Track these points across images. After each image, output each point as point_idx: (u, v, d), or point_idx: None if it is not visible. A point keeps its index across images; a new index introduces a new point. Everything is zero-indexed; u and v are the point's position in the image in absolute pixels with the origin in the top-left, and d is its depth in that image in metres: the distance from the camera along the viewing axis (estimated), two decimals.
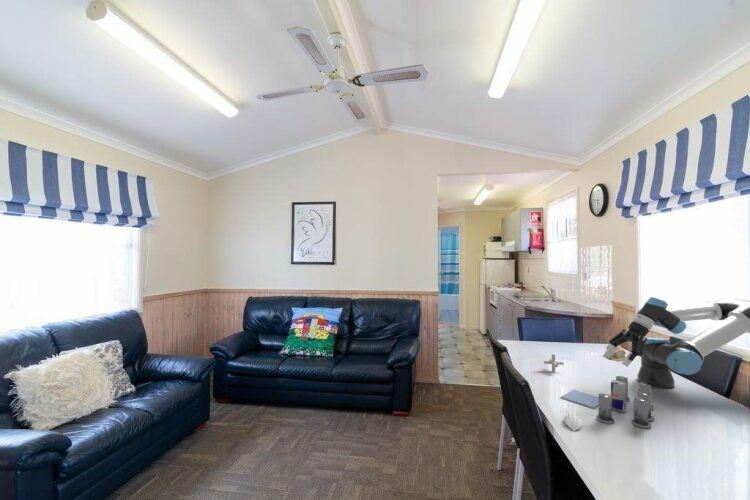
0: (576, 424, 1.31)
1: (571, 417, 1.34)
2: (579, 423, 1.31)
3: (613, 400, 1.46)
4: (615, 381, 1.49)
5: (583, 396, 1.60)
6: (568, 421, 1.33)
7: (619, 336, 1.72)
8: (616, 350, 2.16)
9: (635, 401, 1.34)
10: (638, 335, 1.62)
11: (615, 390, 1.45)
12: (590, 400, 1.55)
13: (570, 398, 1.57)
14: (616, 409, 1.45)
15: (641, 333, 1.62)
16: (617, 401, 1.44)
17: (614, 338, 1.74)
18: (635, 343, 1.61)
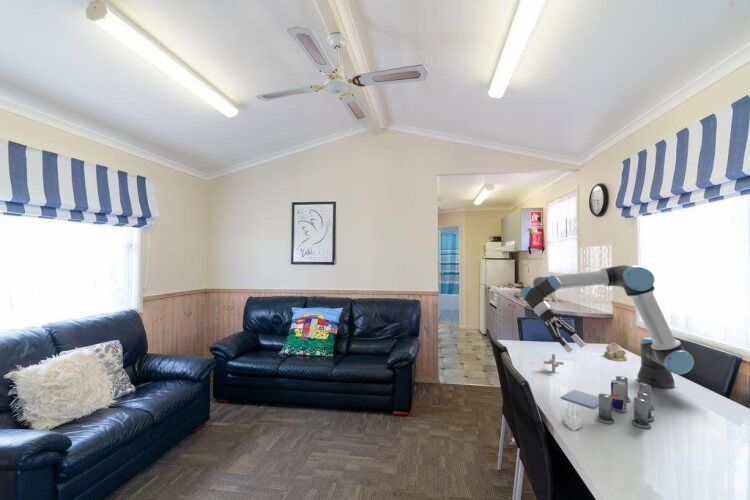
0: (576, 424, 1.31)
1: (571, 417, 1.34)
2: (579, 423, 1.32)
3: (613, 400, 1.46)
4: (615, 381, 1.49)
5: (583, 396, 1.60)
6: (568, 421, 1.33)
7: None
8: (616, 350, 2.16)
9: (635, 401, 1.34)
10: None
11: (615, 390, 1.45)
12: (590, 400, 1.55)
13: (570, 398, 1.57)
14: (616, 409, 1.45)
15: (546, 319, 1.68)
16: (617, 401, 1.44)
17: None
18: None
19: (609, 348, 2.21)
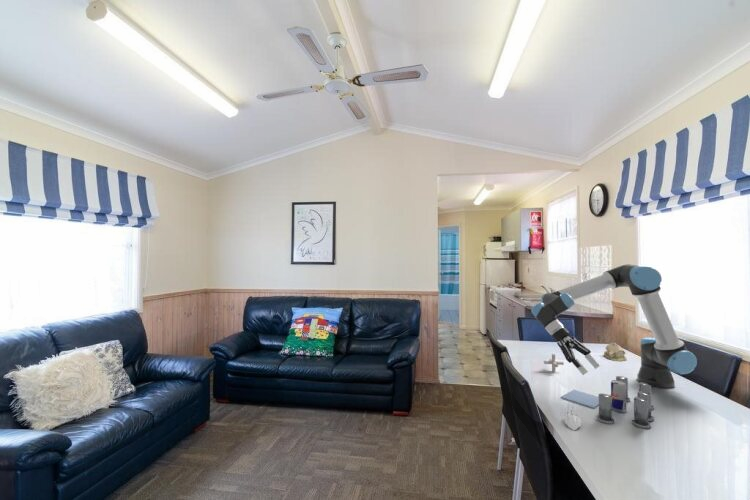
0: (576, 423, 1.31)
1: (570, 417, 1.35)
2: (578, 423, 1.32)
3: (613, 400, 1.46)
4: (615, 381, 1.49)
5: (583, 396, 1.60)
6: (567, 421, 1.33)
7: None
8: (616, 350, 2.16)
9: (635, 401, 1.34)
10: None
11: (615, 390, 1.45)
12: (590, 400, 1.55)
13: (570, 398, 1.57)
14: (616, 409, 1.45)
15: (559, 339, 1.62)
16: (617, 401, 1.44)
17: None
18: None
19: (608, 348, 2.21)
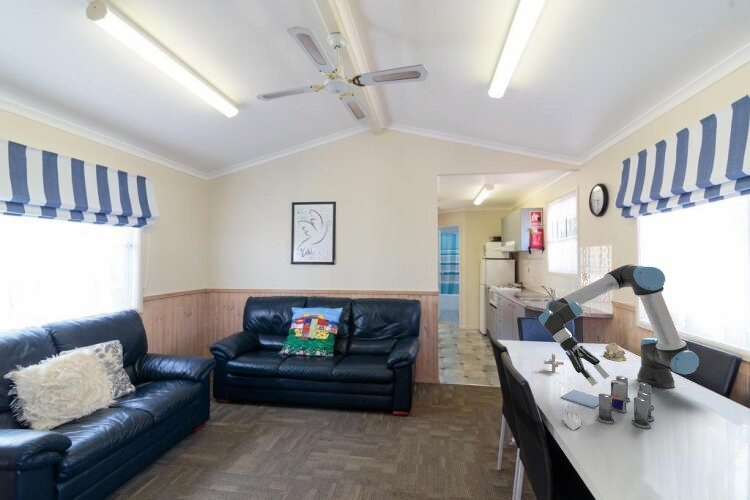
0: (575, 423, 1.31)
1: (570, 416, 1.35)
2: (578, 422, 1.32)
3: (613, 400, 1.46)
4: (615, 381, 1.49)
5: (583, 396, 1.60)
6: (567, 420, 1.33)
7: None
8: (616, 350, 2.15)
9: (635, 401, 1.34)
10: None
11: (615, 390, 1.45)
12: (590, 400, 1.55)
13: (570, 398, 1.57)
14: (616, 409, 1.45)
15: (568, 348, 1.59)
16: (617, 401, 1.44)
17: None
18: None
19: (608, 348, 2.21)
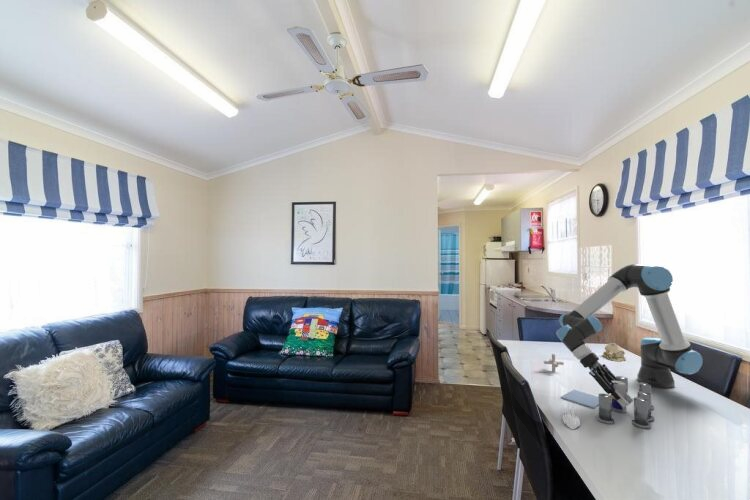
0: (574, 422, 1.32)
1: (569, 416, 1.35)
2: (577, 422, 1.32)
3: (613, 400, 1.46)
4: (615, 381, 1.49)
5: (583, 396, 1.60)
6: (566, 420, 1.34)
7: None
8: (615, 350, 2.15)
9: (635, 401, 1.34)
10: (591, 370, 1.52)
11: (615, 390, 1.45)
12: (590, 400, 1.55)
13: (570, 398, 1.57)
14: (616, 409, 1.45)
15: (588, 365, 1.52)
16: (617, 401, 1.44)
17: None
18: None
19: (608, 349, 2.20)
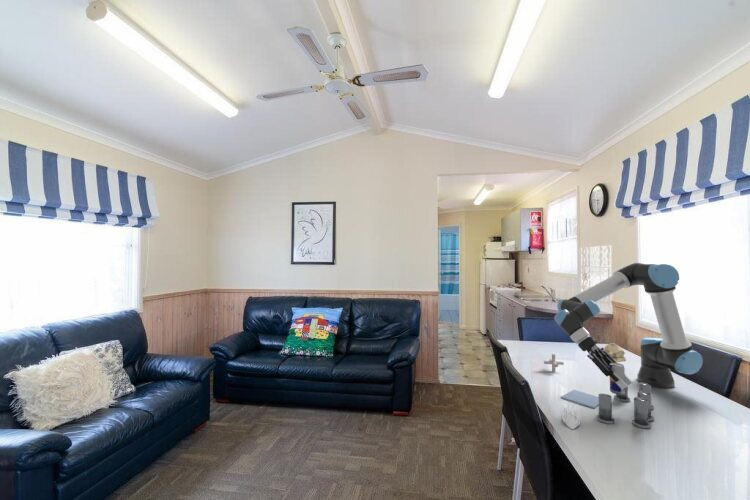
0: (574, 422, 1.32)
1: (569, 416, 1.35)
2: (577, 422, 1.33)
3: (612, 382, 1.46)
4: (614, 363, 1.49)
5: (583, 396, 1.60)
6: (566, 420, 1.34)
7: None
8: (615, 350, 2.15)
9: (635, 401, 1.34)
10: (589, 353, 1.52)
11: (613, 372, 1.45)
12: (590, 400, 1.55)
13: (570, 398, 1.57)
14: (615, 391, 1.45)
15: (587, 348, 1.52)
16: None
17: None
18: None
19: (607, 349, 2.20)
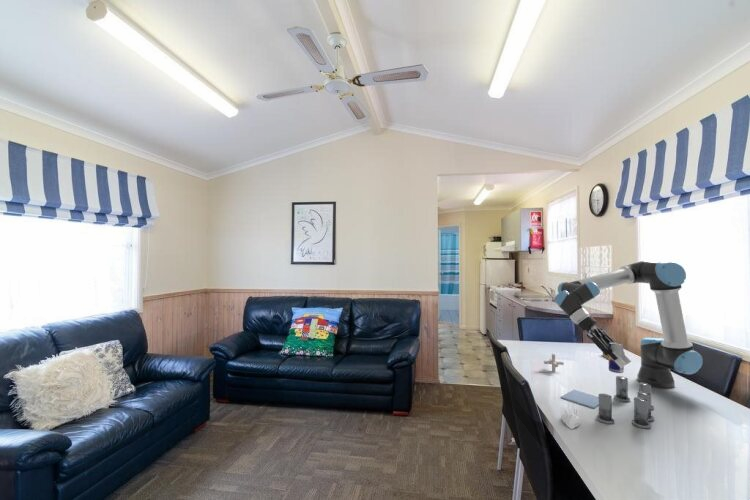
0: (574, 422, 1.32)
1: (569, 415, 1.36)
2: (577, 421, 1.33)
3: (610, 361, 1.47)
4: (613, 342, 1.49)
5: (583, 396, 1.60)
6: (566, 419, 1.34)
7: None
8: None
9: (635, 401, 1.34)
10: (588, 333, 1.52)
11: (612, 351, 1.46)
12: (590, 400, 1.55)
13: (570, 398, 1.57)
14: (613, 370, 1.46)
15: (586, 328, 1.53)
16: None
17: None
18: None
19: None
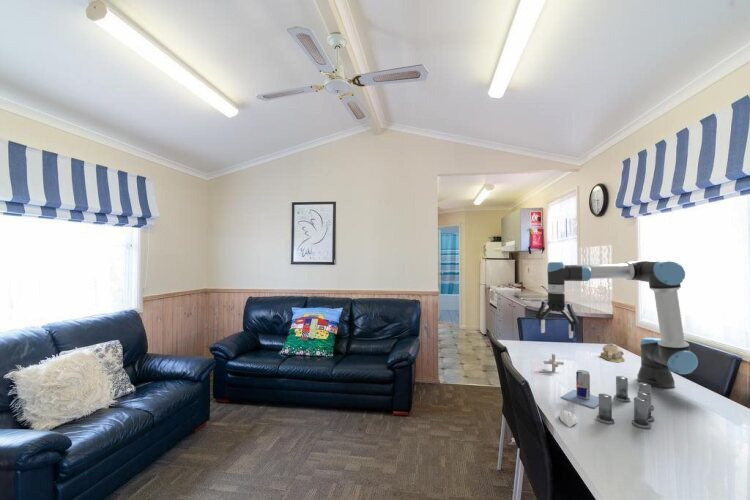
0: (571, 420, 1.34)
1: (566, 414, 1.37)
2: (574, 419, 1.34)
3: (578, 388, 1.57)
4: (580, 370, 1.60)
5: None
6: (563, 417, 1.36)
7: (542, 309, 1.76)
8: (615, 351, 2.13)
9: (635, 401, 1.34)
10: (563, 304, 1.67)
11: (579, 379, 1.56)
12: (590, 400, 1.55)
13: (570, 398, 1.57)
14: (580, 397, 1.56)
15: (563, 301, 1.68)
16: (581, 389, 1.56)
17: (539, 313, 1.76)
18: (565, 313, 1.67)
19: (606, 349, 2.18)
